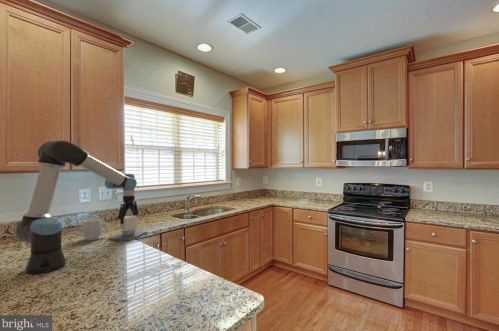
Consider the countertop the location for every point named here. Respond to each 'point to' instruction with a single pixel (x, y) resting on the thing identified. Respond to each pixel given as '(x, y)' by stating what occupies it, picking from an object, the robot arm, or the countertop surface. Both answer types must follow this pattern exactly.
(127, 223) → the cream cube block
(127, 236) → the post base
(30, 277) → the countertop surface
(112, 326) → the countertop surface
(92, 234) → the mug
